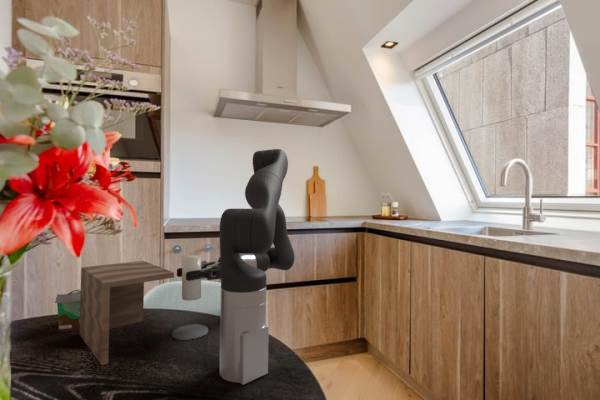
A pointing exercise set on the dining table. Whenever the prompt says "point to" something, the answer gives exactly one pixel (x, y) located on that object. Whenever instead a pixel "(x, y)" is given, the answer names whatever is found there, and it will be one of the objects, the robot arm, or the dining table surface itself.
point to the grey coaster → (189, 332)
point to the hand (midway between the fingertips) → (182, 274)
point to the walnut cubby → (113, 300)
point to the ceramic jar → (193, 287)
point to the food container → (69, 310)
